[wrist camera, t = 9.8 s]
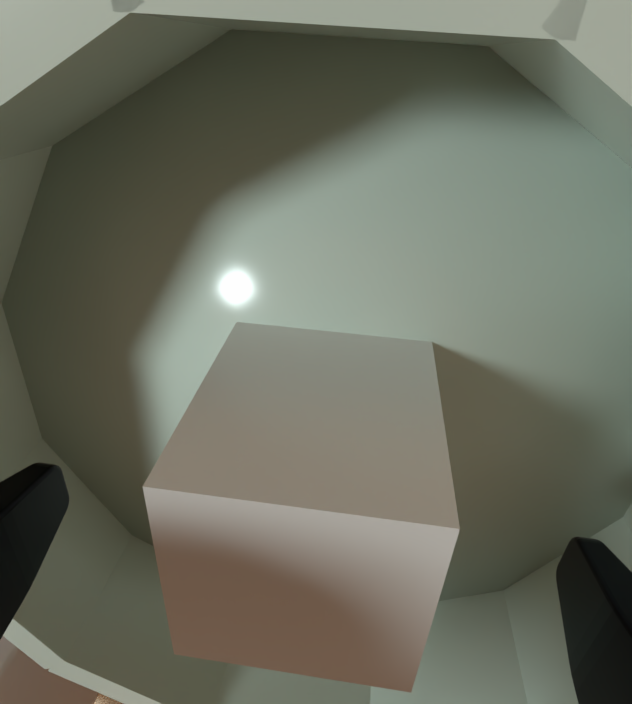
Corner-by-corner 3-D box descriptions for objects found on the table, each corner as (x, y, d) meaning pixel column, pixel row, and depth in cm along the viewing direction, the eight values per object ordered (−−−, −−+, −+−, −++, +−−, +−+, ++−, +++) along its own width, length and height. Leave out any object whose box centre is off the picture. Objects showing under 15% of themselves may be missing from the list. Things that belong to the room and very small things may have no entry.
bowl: (918, 347, 9) (1226, 517, 6) (389, 665, 17) (389, 817, 14) (154, -331, 6) (-135, -808, 3) (-65, 437, 14) (-211, 560, 11)
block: (431, 342, 10) (459, 528, 6) (403, 484, 12) (411, 692, 8) (236, 321, 10) (142, 486, 6) (242, 463, 12) (174, 654, 8)
